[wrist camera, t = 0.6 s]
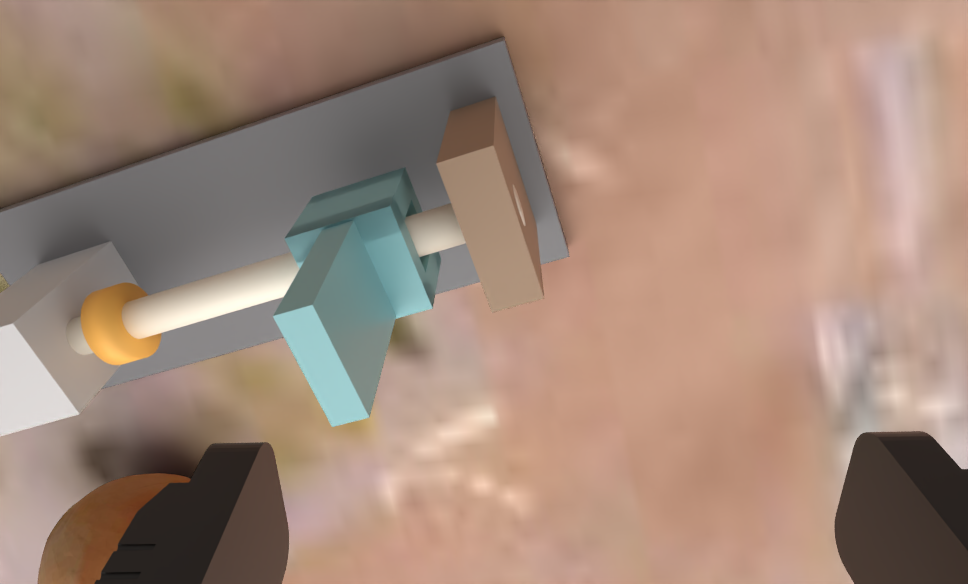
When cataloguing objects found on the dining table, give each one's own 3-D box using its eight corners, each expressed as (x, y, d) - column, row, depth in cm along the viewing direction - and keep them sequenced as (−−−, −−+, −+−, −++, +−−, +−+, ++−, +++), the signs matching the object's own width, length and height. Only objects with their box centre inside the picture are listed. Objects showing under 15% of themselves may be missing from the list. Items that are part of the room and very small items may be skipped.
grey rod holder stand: (504, 36, 29) (504, 79, 22) (567, 247, 34) (586, 343, 26) (-21, 216, 34) (-170, 302, 26) (96, 382, 38) (-4, 497, 31)
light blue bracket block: (405, 167, 28) (358, 287, 19) (441, 259, 30) (414, 408, 21) (312, 196, 29) (225, 326, 20) (353, 284, 31) (291, 440, 22)
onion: (250, 575, 45) (189, 737, 36) (89, 536, 44) (-15, 694, 35) (279, 463, 41) (216, 617, 32) (101, 417, 39) (-15, 563, 31)
